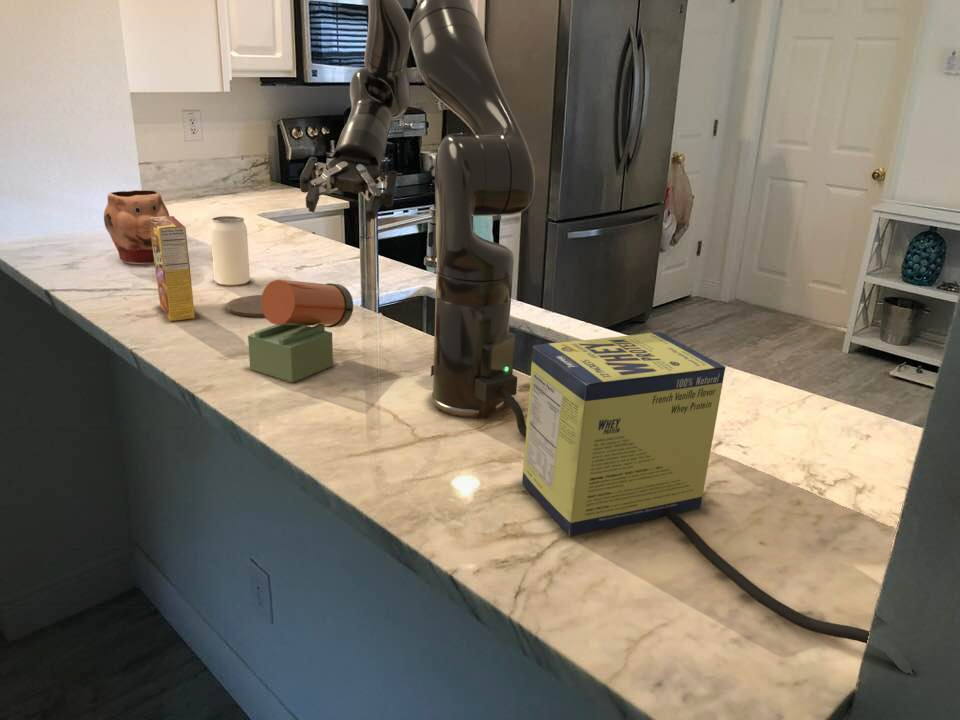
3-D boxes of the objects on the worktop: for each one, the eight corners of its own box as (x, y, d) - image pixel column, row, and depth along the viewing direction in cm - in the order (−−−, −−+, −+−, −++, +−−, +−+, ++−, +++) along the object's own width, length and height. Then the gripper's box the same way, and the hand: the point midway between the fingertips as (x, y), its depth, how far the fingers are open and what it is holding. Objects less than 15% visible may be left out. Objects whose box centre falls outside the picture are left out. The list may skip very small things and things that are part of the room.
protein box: (703, 509, 76) (729, 364, 71) (568, 539, 70) (584, 383, 65) (643, 461, 85) (661, 330, 80) (518, 484, 79) (529, 343, 74)
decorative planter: (94, 252, 161) (85, 186, 156) (152, 246, 169) (146, 182, 164) (128, 273, 147) (120, 200, 142) (190, 265, 155) (184, 196, 150)
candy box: (157, 306, 129) (147, 216, 123) (184, 304, 131) (175, 215, 125) (167, 322, 121) (157, 227, 116) (195, 318, 124) (187, 225, 118)
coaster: (306, 306, 133) (306, 302, 133) (259, 321, 124) (259, 317, 124) (261, 294, 138) (261, 291, 138) (213, 308, 129) (212, 304, 129)
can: (239, 287, 142) (235, 223, 137) (207, 284, 143) (202, 220, 138) (256, 279, 148) (252, 217, 143) (225, 276, 149) (221, 214, 144)
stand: (333, 365, 107) (332, 326, 105) (292, 383, 101) (290, 342, 99) (291, 353, 111) (290, 315, 109) (249, 369, 105) (247, 329, 103)
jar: (315, 322, 113) (323, 280, 112) (348, 332, 110) (356, 288, 109) (256, 320, 103) (264, 273, 102) (291, 331, 100) (299, 283, 99)
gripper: (316, 120, 120) (290, 184, 110) (406, 136, 120) (388, 201, 110) (318, 159, 126) (293, 223, 115) (403, 174, 126) (386, 239, 116)
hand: (339, 212), depth 113 cm, fingers open, 8 cm apart
